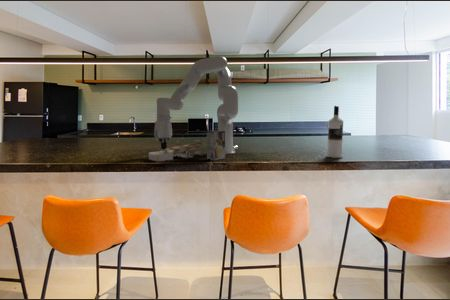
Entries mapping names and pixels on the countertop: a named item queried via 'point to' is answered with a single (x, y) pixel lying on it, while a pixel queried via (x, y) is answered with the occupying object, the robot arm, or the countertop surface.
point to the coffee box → (215, 145)
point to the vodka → (335, 135)
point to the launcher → (184, 147)
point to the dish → (160, 156)
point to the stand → (186, 154)
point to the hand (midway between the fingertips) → (163, 149)
